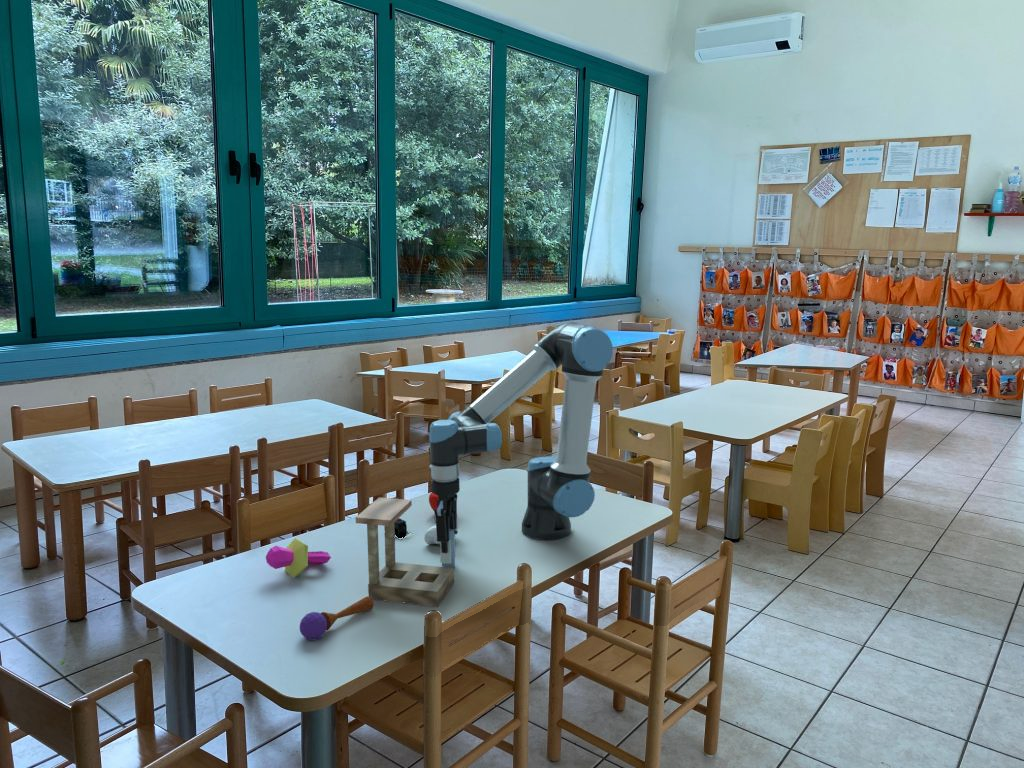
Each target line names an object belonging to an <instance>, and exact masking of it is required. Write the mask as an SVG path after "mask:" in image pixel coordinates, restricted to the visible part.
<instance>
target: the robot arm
mask: <svg viewBox="0 0 1024 768" xmlns="http://www.w3.org/2000/svg"><path fill="white" fill-rule="evenodd" d="M613 348H614V347H613V342H612V340H611V337H609V335H608V334H607V333H606V332H605V331H604V330H602V329H600V328H598V327H596V326H592V325H585V324H582V323H578V322H572V321H571V322H565V323H562V324H560V325H558V326H557V327H555V328H553V329H552V330H550V331H549V332H548V333H546V334H545V335H544V336H542V338H540V339H539V340H538V341H537V342H536V343H535V344H534V345H533V347H532V350H531V352H530V353H528V354H527V355H526V356H525V357H524V358H522V360H520V361H518V363H517V364H516V365H515V366H514V367H512V368H511V369H510V370H509V371H507V373H505V374H504V375H503V376H502V377H501V378H500V379H499V380H497V381H496V382H495V383H494V384H493V385H492V386H490V387H489V388H488V389H487V390H485V392H483V393H482V394H481V395H480V396H479V397H478V398H477V399H475V400H474V401H473V402H472V403H471V404H470V405H468V407H466V408H465V409H464V410H463V411H456V412H453V413H452V414H450V416H449V417H448V419H439V420H436V421H432V422H431V424H430V425H429V437H428V441H429V450H430V451H429V453H430V465H429V467H428V469H430V474H431V475H430V476H431V480H430V482H431V483H430V484H431V485H430V486H431V492H432V493H433V494H436V495H437V496H438V500H437V506H438V508H435V510H434V511H433V512H434V517H435V525H436V531H437V541H438V542H440V544H439V545H440V547H439V548H440V549H439V550H440V563H441V564H442V563H448V564H451V540H449V529H453V530H454V534H455V535H454V542H455V543H456V535H458V532H459V530H458V529H457V524H458V519H457V518H458V512H457V510H458V507H457V506H458V505H457V503H458V493H459V492H460V485H461V484H460V478H459V477H460V461H459V457H460V456H464V455H470V454H477V453H478V454H479V453H480V454H481V453H489V452H493V451H498V450H499V449H500V448H501V446H502V441H503V436H502V435H503V433H502V430H501V428H500V426H499V425H498V424H497V423H496V422H492V421H493V420H494V419H495V418H497V417H498V416H499V415H500V414H501V413H503V411H505V410H506V409H507V408H508V407H509V406H510V405H511V404H513V403H514V402H515V401H516V400H517V399H518V398H519V397H520V396H522V395H523V394H524V393H526V391H528V390H529V389H530V388H531V387H532V386H533V385H534V384H536V383H537V382H538V381H539V380H540V379H541V378H543V377H544V376H545V375H546V374H548V372H549V371H557V369H559V367H561V373H562V374H563V376H564V377H565V384H564V391H563V399H562V400H563V401H562V407H561V409H562V410H561V417H560V426H559V433H558V443H557V451H556V456H540V457H535V458H531V459H530V460H529V461H528V464H527V507H526V510H525V513H524V515H523V518H522V522H521V532H522V534H524V535H525V536H526V537H529V538H532V539H536V540H545V541H550V540H559V539H563V538H565V537H568V536H570V534H571V533H572V522H571V520H570V518H577V517H580V516H582V515H584V514H585V513H586V512H587V511H589V510H590V509H591V507H592V506H593V503H594V501H595V496H596V495H595V489H594V487H593V485H592V484H591V482H590V479H591V468H590V467H589V466H588V464H587V460H588V452H589V445H590V444H589V443H590V436H591V427H592V419H593V411H594V404H595V403H594V402H595V395H596V387H597V385H596V384H597V382H598V381H599V380H600V379H601V378H603V375H604V370H605V368H606V367H607V365H608V364H609V365H610V363H611V361H612V359H613V354H614V349H613ZM455 529H457V531H455Z"/></svg>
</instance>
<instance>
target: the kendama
mask: <svg viewBox="0 0 1024 768" xmlns="http://www.w3.org/2000/svg"><path fill="white" fill-rule="evenodd" d="M373 608H374V600H372V599H371V598H370V597H369V595H368V596H365V597H363V598H361V599H360V600H358V601H356V602H354V603H352V604H350V605H349V606H348V607H346V608H344V609H341V610H340V611H339V612H337V613H332V612H331V613H330V612H327V611H326V612H325V611H322V612H318V611H312V612H308V613H306V614H305V615H304V616H303V617H302V618H301V620H300V622H299V623H300V624H299V631H300V634H301V636H303V637H304V638H305V639H307V640H311V641H315V640H319V639H320V638H322V637H323V636H324V634H325V633H327V632H326V631H329V630H330V629H331V628H332V626H333V625H334V624H335V623H336V621H337V620H338V619H342V618H344V617H349V616H352V615H357V614H359V613H364V612H368V611H370V609H371V610H373ZM314 639H315V640H314Z"/></svg>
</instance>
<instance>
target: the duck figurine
mask: <svg viewBox="0 0 1024 768" xmlns="http://www.w3.org/2000/svg"><path fill="white" fill-rule="evenodd" d="M458 529H459V524H458V523H457V529H455V531H458ZM454 535H455V536H456V534H454ZM423 539H424V542H425V544H427V545H434V544H435V545H440V542H438V541H437V531H436V524H435V525H433V526H431V527H429V528H428V529H427V530H426V532H425V534H424V537H423Z"/></svg>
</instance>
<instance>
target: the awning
mask: <svg viewBox="0 0 1024 768" xmlns="http://www.w3.org/2000/svg"><path fill="white" fill-rule="evenodd" d="M412 505H413V504H412V499H403V498H402V499H401V498H400V499H399V498H391V497H389V498H388V497H380V496H379V497H378V498H377V499H375V500H374V501H373V502H372V503H371V504H369V505H368V506H367V507H366V508H365V509H363V510H362V512H360V513H359V514H358V515H357V516H356V517H355V524H363V525H366V531H367V533H366V534H367V540H366V541H367V562H368V564H367V565H368V569H367V570H368V584H369V583H370V584H377V583H378V582H379V581H380V578H379V572H380V553H379V549H380V548H379V526H383V527H384V530H383V531H385V532H384V553H385V554H384V555H385V556H384V557H385V558H384V561H385V563H384V564H385V565H386V566H393V565H394V564H395V562H396V538H395V526H394V522H395V521H396V520H397V519H398V518H401V517H402V516H403V515H404V514H405V512H407V511H408V510H409V509H410V508H411V507H412Z"/></svg>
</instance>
